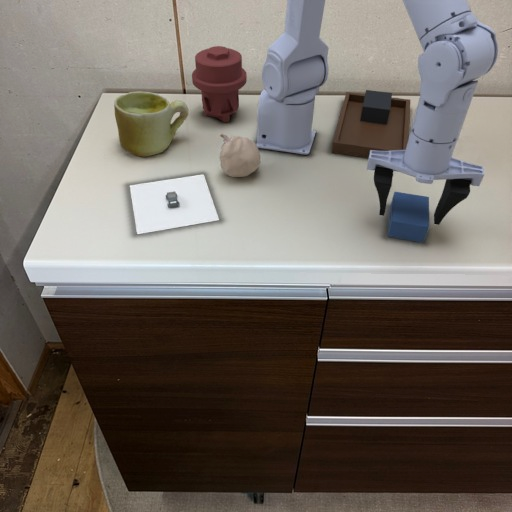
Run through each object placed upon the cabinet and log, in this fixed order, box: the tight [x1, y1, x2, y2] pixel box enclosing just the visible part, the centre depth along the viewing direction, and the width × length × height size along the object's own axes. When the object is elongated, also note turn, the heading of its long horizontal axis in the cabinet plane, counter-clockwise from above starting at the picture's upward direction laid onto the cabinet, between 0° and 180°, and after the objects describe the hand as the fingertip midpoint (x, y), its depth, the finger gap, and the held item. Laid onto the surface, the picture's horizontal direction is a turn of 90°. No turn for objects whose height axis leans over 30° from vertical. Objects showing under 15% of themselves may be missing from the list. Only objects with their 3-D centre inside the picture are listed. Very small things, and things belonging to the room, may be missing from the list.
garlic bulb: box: [219, 133, 261, 178], centre depth 75 cm, size 7×6×8 cm
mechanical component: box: [191, 45, 248, 123], centre depth 88 cm, size 12×10×10 cm
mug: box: [113, 90, 190, 158], centre depth 81 cm, size 12×10×10 cm
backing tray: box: [331, 91, 411, 159], centre depth 88 cm, size 13×20×2 cm, turn 166°
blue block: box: [387, 191, 430, 244], centre depth 68 cm, size 5×7×3 cm
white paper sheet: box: [129, 174, 220, 235], centre depth 72 cm, size 12×12×2 cm
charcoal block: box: [360, 89, 393, 125], centre depth 90 cm, size 5×7×3 cm
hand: (408, 215), depth 68 cm, fingers open, 7 cm apart
